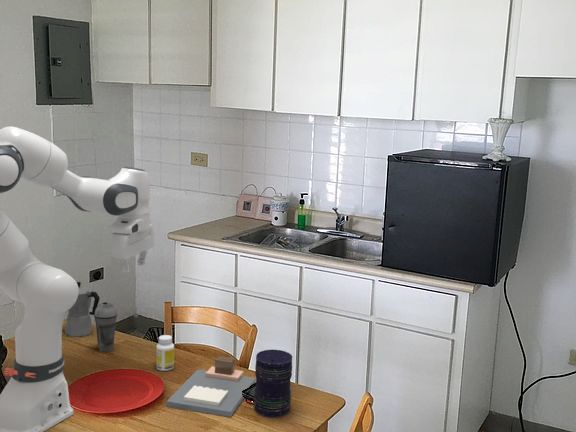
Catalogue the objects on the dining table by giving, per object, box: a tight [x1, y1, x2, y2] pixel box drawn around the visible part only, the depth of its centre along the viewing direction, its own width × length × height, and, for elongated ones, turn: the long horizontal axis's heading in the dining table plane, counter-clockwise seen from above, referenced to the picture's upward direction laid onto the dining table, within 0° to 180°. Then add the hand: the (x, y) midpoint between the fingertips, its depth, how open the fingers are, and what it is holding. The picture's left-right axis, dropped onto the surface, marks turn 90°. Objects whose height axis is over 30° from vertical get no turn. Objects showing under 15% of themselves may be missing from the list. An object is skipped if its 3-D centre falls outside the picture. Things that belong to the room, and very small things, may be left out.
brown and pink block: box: [205, 355, 244, 381], centre depth 189 cm, size 5×10×5 cm, turn 76°
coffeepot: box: [64, 281, 101, 338], centre depth 220 cm, size 15×9×18 cm, turn 66°
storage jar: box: [253, 349, 293, 419], centre depth 172 cm, size 10×10×15 cm
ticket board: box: [166, 368, 256, 418], centre depth 180 cm, size 22×18×3 cm
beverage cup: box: [93, 288, 118, 353], centre depth 207 cm, size 7×7×20 cm
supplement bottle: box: [155, 334, 175, 372], centre depth 195 cm, size 5×5×10 cm
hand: (134, 268), depth 190 cm, fingers open, 8 cm apart
